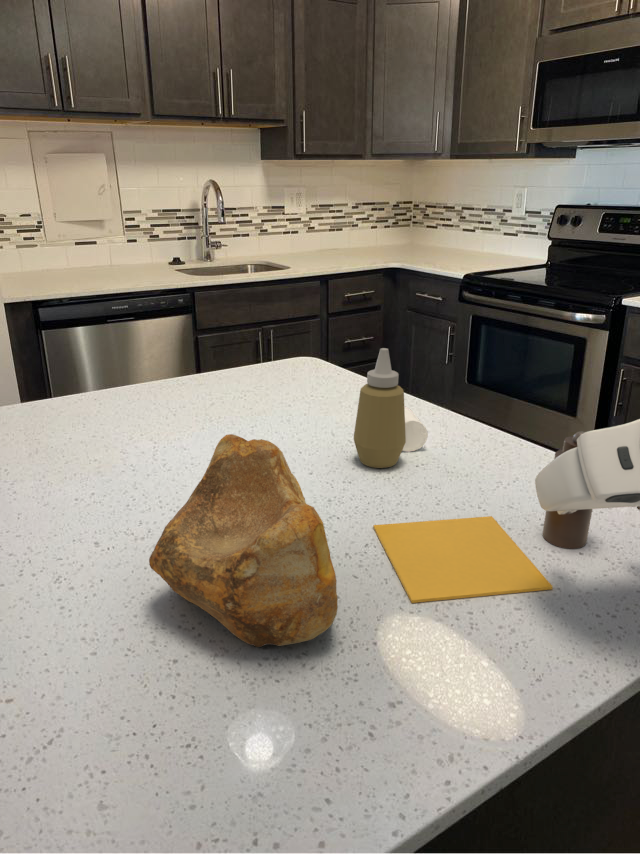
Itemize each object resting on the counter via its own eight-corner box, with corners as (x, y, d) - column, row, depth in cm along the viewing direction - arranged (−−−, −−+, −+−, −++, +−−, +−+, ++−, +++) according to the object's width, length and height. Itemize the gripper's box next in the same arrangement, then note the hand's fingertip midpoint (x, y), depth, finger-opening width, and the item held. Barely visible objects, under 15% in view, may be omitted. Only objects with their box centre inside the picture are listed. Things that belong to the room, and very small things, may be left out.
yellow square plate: (491, 518, 87) (491, 515, 87) (552, 589, 72) (552, 586, 72) (373, 527, 84) (373, 525, 84) (411, 603, 69) (411, 600, 69)
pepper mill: (572, 526, 85) (590, 423, 80) (594, 547, 81) (615, 439, 76) (534, 529, 85) (550, 425, 79) (555, 550, 80) (573, 441, 75)
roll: (405, 424, 119) (407, 395, 117) (427, 450, 108) (429, 418, 106) (372, 426, 118) (374, 396, 116) (391, 452, 107) (393, 420, 105)
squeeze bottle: (360, 474, 99) (365, 357, 93) (346, 453, 106) (350, 343, 100) (411, 470, 101) (419, 355, 94) (395, 449, 108) (401, 341, 102)
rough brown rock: (145, 559, 78) (123, 445, 72) (280, 525, 83) (270, 416, 77) (180, 703, 58) (153, 562, 52) (354, 647, 63) (349, 512, 57)
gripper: (765, 425, 64) (679, 474, 76) (566, 432, 61) (510, 482, 74) (790, 487, 61) (696, 527, 74) (583, 497, 58) (522, 538, 71)
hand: (602, 505), depth 74 cm, fingers open, 8 cm apart
